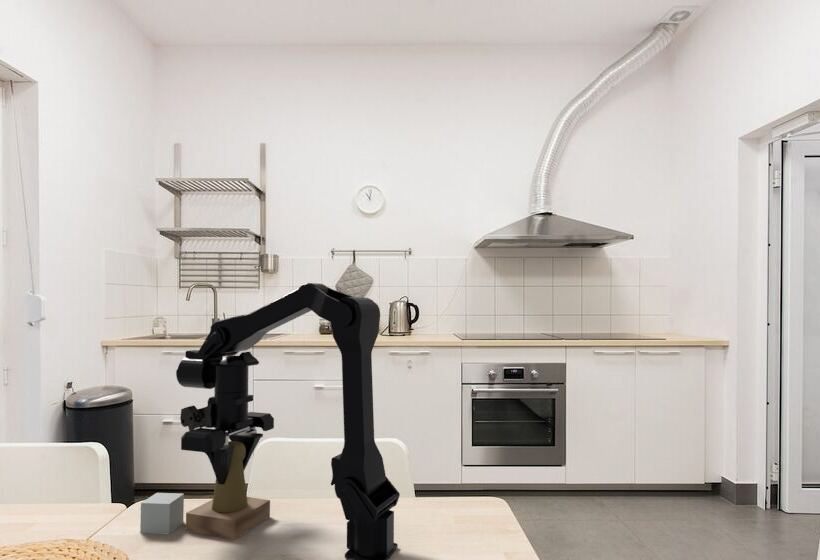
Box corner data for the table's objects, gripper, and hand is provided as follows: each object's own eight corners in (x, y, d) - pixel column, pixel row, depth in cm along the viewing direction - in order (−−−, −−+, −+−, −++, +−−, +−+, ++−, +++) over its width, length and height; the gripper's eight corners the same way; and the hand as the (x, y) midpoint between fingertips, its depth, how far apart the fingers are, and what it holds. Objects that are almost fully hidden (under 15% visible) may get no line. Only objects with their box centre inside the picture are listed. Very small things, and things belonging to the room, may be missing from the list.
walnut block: (269, 516, 99) (270, 500, 99) (235, 539, 90) (235, 520, 90) (223, 509, 103) (224, 493, 103) (185, 530, 93) (186, 512, 93)
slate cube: (183, 522, 97) (183, 493, 97) (168, 534, 92) (169, 503, 92) (156, 521, 97) (156, 492, 98) (140, 533, 92) (140, 502, 93)
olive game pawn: (236, 513, 93) (237, 447, 93) (204, 510, 94) (205, 446, 94) (253, 500, 99) (254, 439, 99) (223, 498, 100) (224, 437, 100)
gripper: (227, 381, 109) (226, 461, 108) (155, 396, 91) (153, 492, 90) (275, 384, 105) (275, 466, 104) (210, 400, 87) (209, 500, 87)
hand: (230, 479), depth 96 cm, fingers closed on olive game pawn, 4 cm apart
